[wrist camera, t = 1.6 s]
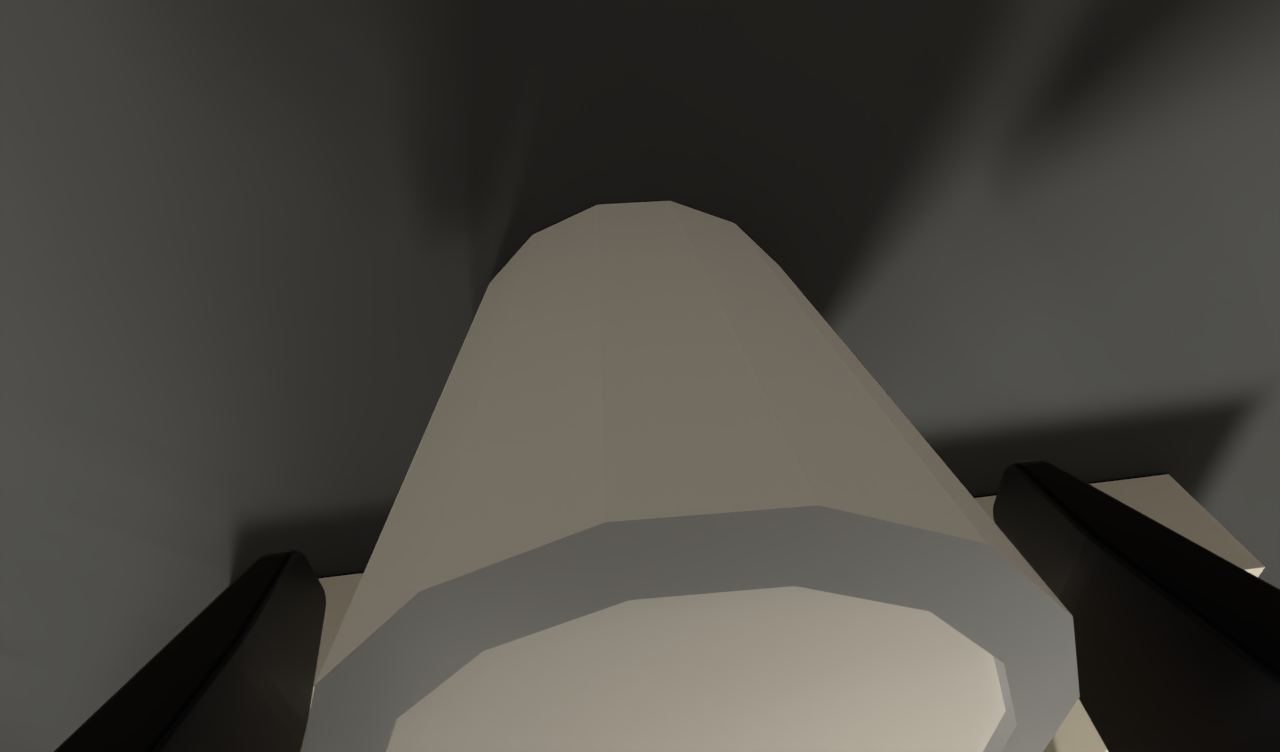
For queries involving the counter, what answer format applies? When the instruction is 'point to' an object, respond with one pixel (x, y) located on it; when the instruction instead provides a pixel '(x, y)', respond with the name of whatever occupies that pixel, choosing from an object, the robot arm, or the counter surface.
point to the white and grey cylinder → (682, 533)
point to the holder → (1156, 497)
